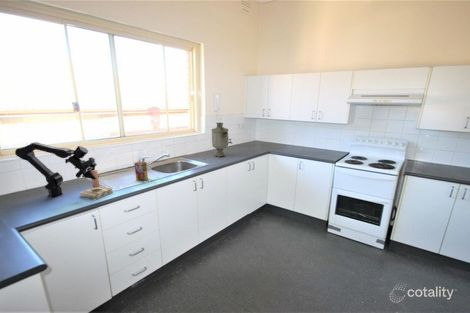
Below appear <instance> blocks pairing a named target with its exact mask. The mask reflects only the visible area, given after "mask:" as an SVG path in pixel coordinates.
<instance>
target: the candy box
mask: <svg viewBox="0 0 470 313" xmlns="http://www.w3.org/2000/svg"><path fill="white" fill-rule="evenodd" d="M147 163H148V162H147V161H145V160H144V161H135V162H134V170H135V181H146V180H148V179H149V178H148V166H147Z"/></svg>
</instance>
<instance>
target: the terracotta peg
mask: <svg viewBox="0 0 470 313" xmlns="http://www.w3.org/2000/svg"><path fill="white" fill-rule="evenodd" d="M91 174H92V175H93V176H94V177H95V178H96V179H95V180H94V179H91V184H92V188H98V187H99V186H100V181H99V177H98V176H99V173H98V170H97V169H95V170H91Z"/></svg>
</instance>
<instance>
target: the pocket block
mask: <svg viewBox="0 0 470 313" xmlns="http://www.w3.org/2000/svg"><path fill="white" fill-rule="evenodd" d="M113 192H114V191H113V188H112V187H107V186H102V185H99V187H98V188H93V187H91V188H88V189H85V190H82V191H80V192H79V194H80V195H79V196H80V197H82V198H86V199H90V198H91V199H90V200H94V199H96V200H97V198H98V199H100V198H102V196H103V197H105V196H107V195H109V193H110V194H111V193H113ZM104 195H105V196H104ZM99 197H100V198H99Z"/></svg>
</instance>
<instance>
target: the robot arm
mask: <svg viewBox="0 0 470 313" xmlns="http://www.w3.org/2000/svg"><path fill="white" fill-rule="evenodd" d="M36 150H37V151H40V152H44V153H48V154H53V155H55V156H56V157H57V158H61V159H65V162H64V163H65V164H69V163H70V164H71V165H72V166H74V169H78V171H77V172H76V174H75V177H76V178H78V179H80V178H87V179H90V180H92V179H94V180H95V179H96V178H95V177H94V176H93V175H92V174H91V170H96V166H97V163H96V159H95V158H94V157H92V156H91V157H89V158H88V159H87V160H85V159H83V158H84V157H85V156H86V155H88V153H89V150H88V148H86V147H84V146H80V145H78V146H77V147H76V148H75V149H71V148H70V147H57V146H52V145H49V144H45V143H40V142H38V141H35V142H30V144H27V145H26V146H23V147H19V148H16V149H15V151H14V154H15V156H16V157H18V158H19V159H21V160H24V161H26V162H28V163H29V164H30V165H31V166H33V167H34V168H35V169H36V170H37V171H38V172H40V174H42V176H44V177H45V180H46V182H47V184H46V185H45V186H44V188H45V189H46V190H47V192H48V194H47V197H51V198H57V197H58V196H59V197H60V196H62V195H64V193H63V190H62V187H61V185H62V183H63V182H64V177H63V175H62V174H60V173H59V172H57V171H56V172H54V171H52V170H51V169H50V168H48V166H46V164H44V163H43V162H42V161H41V160H40V159H39V158H38V157H36V154H35V152H34V151H36ZM82 159H83V160H82ZM99 177H100V175H98V178H99Z"/></svg>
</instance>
